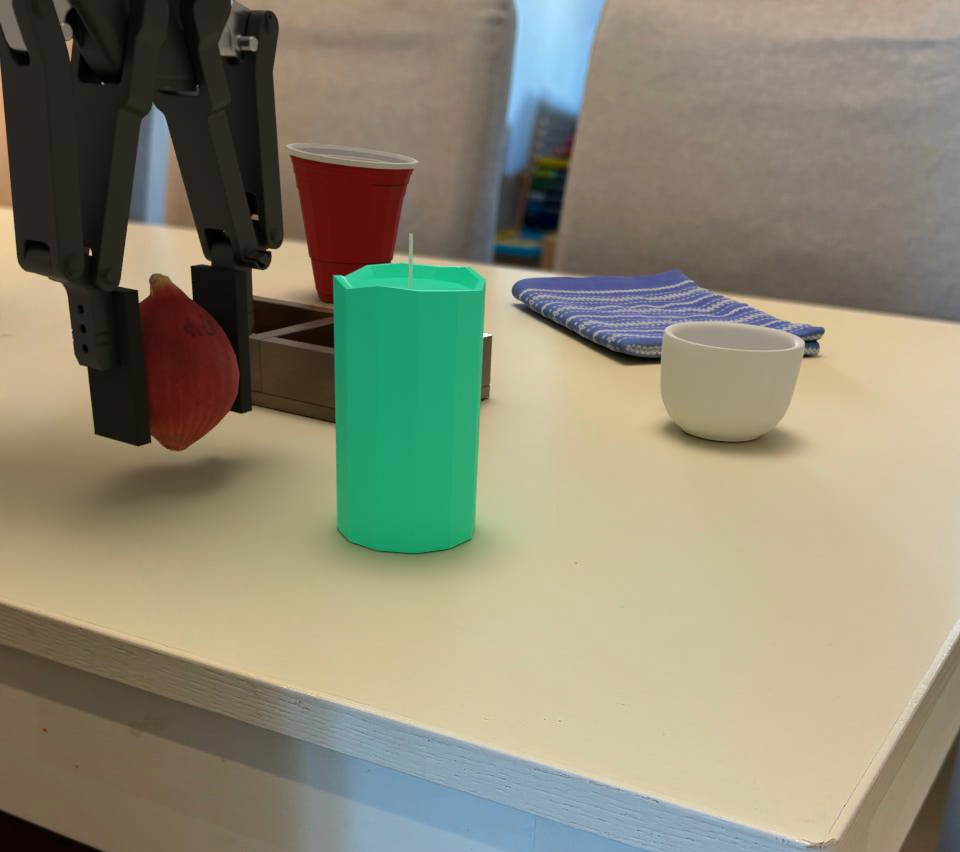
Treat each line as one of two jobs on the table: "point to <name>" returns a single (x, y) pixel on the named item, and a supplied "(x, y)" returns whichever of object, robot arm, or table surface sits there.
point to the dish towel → (642, 309)
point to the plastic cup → (348, 207)
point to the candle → (408, 404)
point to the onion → (184, 366)
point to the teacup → (728, 378)
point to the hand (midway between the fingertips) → (176, 421)
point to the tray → (304, 358)
